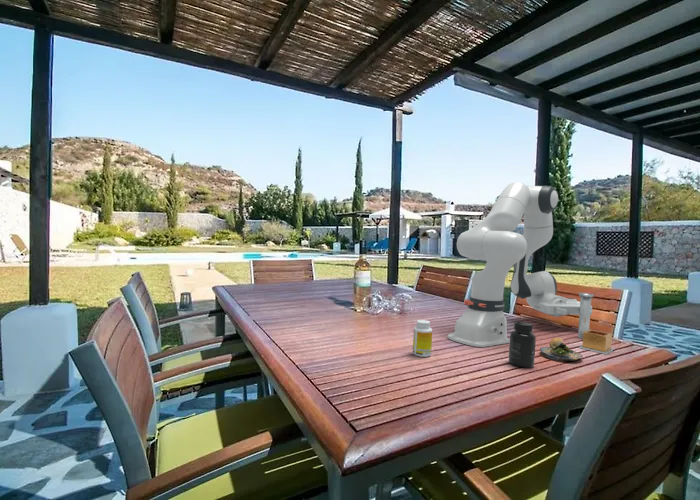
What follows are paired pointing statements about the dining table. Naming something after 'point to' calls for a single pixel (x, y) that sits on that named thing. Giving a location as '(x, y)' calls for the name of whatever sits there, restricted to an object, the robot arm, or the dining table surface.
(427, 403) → the dining table surface
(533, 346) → the supplement bottle
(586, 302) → the drop pin
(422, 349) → the supplement bottle
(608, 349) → the block
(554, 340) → the burger
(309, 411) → the dining table surface
